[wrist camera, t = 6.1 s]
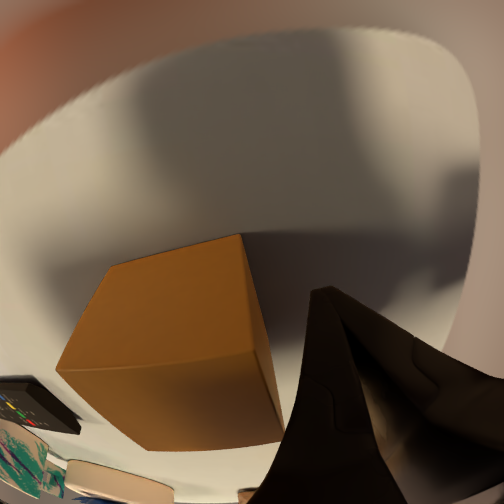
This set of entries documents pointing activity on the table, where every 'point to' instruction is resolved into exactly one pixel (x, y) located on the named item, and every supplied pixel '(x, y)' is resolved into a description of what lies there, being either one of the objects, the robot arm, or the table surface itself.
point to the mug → (27, 462)
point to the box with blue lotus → (113, 486)
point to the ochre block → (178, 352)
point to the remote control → (35, 408)
